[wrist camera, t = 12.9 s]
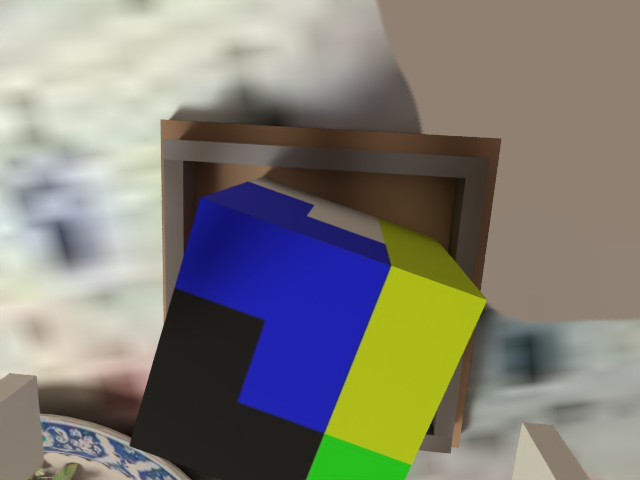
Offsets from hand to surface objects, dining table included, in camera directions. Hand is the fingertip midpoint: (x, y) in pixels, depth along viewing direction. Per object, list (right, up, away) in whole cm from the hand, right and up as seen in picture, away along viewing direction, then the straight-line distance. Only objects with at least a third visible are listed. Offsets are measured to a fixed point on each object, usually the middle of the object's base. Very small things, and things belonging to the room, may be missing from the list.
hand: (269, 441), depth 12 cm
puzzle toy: (+1, +3, +14) cm, 14 cm away
